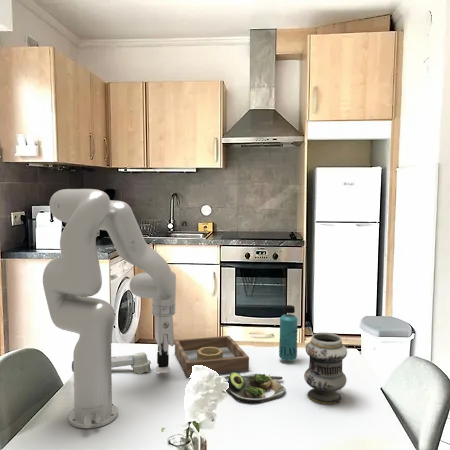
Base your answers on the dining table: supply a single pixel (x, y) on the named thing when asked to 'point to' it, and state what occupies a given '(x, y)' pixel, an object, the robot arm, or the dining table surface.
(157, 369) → the chess piece
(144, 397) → the dining table surface
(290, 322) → the beverage bottle
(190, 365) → the socket box
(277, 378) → the avocado toast plate
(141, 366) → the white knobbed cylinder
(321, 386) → the apothecary jar
